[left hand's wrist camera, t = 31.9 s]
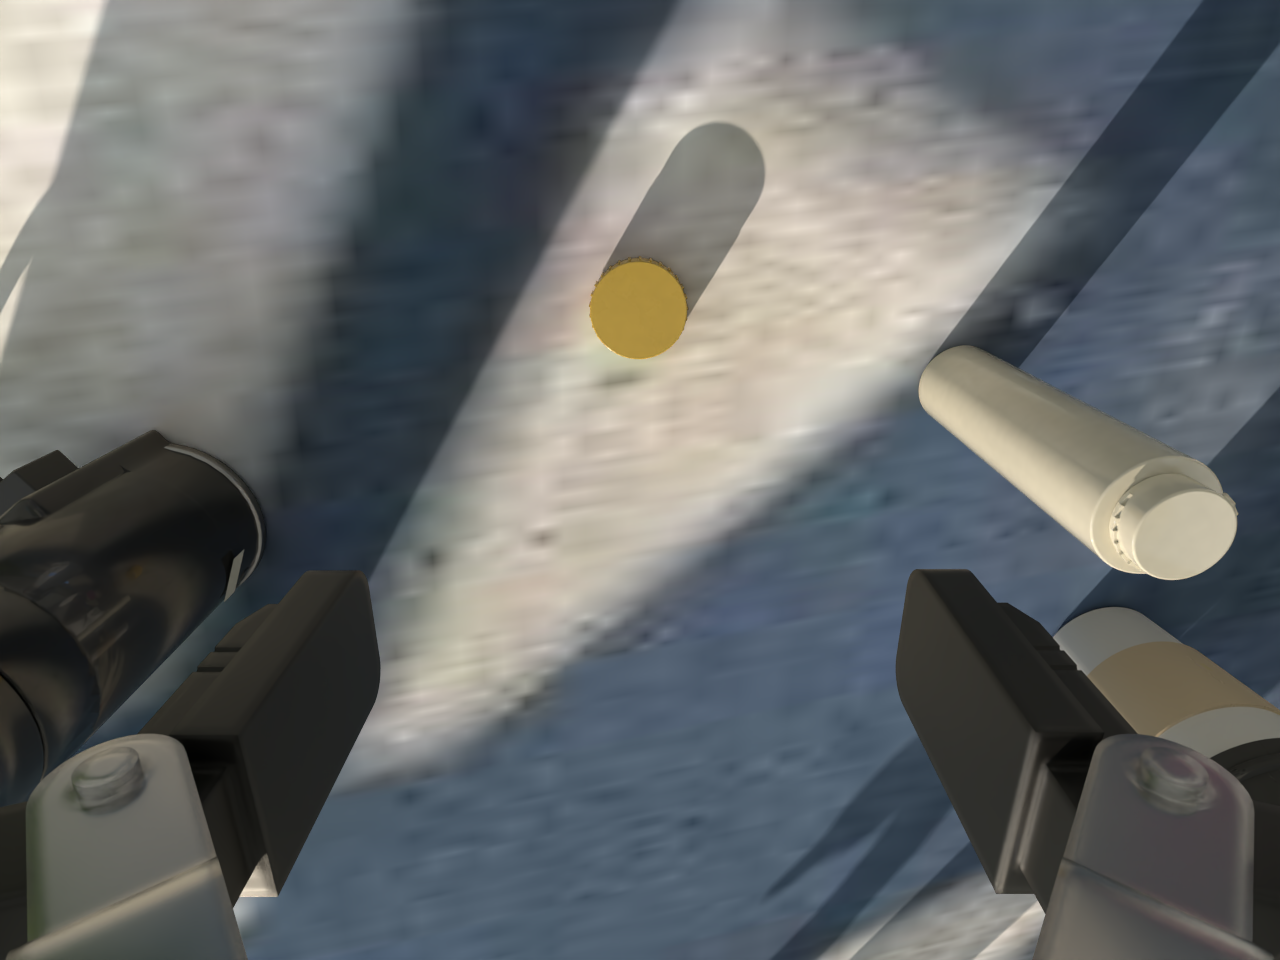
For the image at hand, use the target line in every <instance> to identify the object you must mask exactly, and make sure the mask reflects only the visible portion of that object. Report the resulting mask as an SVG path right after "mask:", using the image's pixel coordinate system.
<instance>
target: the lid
mask: <svg viewBox="0 0 1280 960" xmlns="http://www.w3.org/2000/svg"><path fill="white" fill-rule="evenodd" d="M595 286H596V287H595V290H594V291H592V293H591V296H592V299H591V301H590V304H589V307H590V317H591V321H592V327H593V328H594V330H595V332H596V334H597V337H598V338H599V339H600V340H601V342H602V343H603V344H604V345H605V346H606V347H607V348H609V349H610V350H611V351H613V352H614V353H616V354H618V355H621V356H623V357H627V358H631V359H646V358H651V357H654V356H657V355H659V354H661V353H663V352H665V351H666V350H667V349H669V348H670V347H671V346H672V345H673V344H674V343H675V342H676V341H677V340H678V339H679V336H680V335H681V333H682V331H683V330H684V326H685V322H686V321H687V310H688V306H687V303H686V299H687V296H686V294H684V292H683V289H684V287H683V285H682V284H680V282H679V281H678V276H677V275H674V274H673V273H672V272H671V269H670V268H669V267H668V268H667V267H665V266H664V265H662V262H659V263H658V262H656V261H654V260H652V258H649V259H645V258H641V256H639V258H632V259H631V257H628V259H627V260H624V261H621V260H619V261H618V263H617V264H615V265H613V266H611V265H610V266H609V269H608V270H607V271H606V272H605V273H602V274H601V278H600V279H599V281H596V283H595Z"/></svg>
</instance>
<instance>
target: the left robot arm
mask: <svg viewBox="0 0 1280 960" xmlns="http://www.w3.org/2000/svg"><path fill="white" fill-rule="evenodd" d="M265 541H266V531H265V523H264V518H263V515H262V512H261V509H260V507H259V505H258V503H257V501H256V499H255V497H254V495H253V494H252V492H251V491H250V489H249V488H248V487H247V485H246V484H245V483H244V482H243V481H242V480H241V478H240V477H239V476H238V475H237V474H235V473H234V472H233V471H232V470H231V469H230V468H228V467H227V466H226V465H225V464H223V463H222V462H220V461H219V460H217V459H215V458H214V457H212V456H210V455H208V454H206V453H204V452H201V451H199V450H196V449H193V448H190V447H186V446H182V445H177V444H171V443H170V442H168V441H167V440H166V439H165V438H163V437H162V436H161V435H160V434H159V433H158V432H157V431H155V430H151V431H149V432H147V433H145V434H143V435H141V436H139V437H138V438H136V439H134V440H132V441H130V442H128V443H126V444H124V445H122V446H120V447H119V448H117V449H115V450H113V451H111V452H109V453H107V454H105V455H103V456H102V457H100V458H98V459H96V460H94V461H92V462H90V463H88V464H86V465H84V466H83V467H81V468H77V467H76V466H75V465H74V464H73V463H72V462H71V461H70V460H69V459H68V458H67V457H66V456H64V455H63V454H62V453H61V452H60V451H59V450H56V451H54V452H52V453H49V454H47V455H45V456H43V457H41V458H39V459H37V460H35V461H33V462H31V463H28V464H26V465H24V466H22V467H20V468H18V469H16V470H14V471H12V472H11V473H10V474H9V475H8V476H7V477H6V478H5V479H2V478H1V477H0V960H248V959H247V955H246V952H245V949H244V945H243V942H242V938H241V935H240V932H239V928H238V925H237V921H236V918H235V915H234V911H233V907H234V905H235V904H236V902H237V900H238V898H239V897H278V895H279V893H280V891H281V889H282V887H283V885H284V883H285V881H286V879H287V877H288V875H289V873H290V871H291V869H292V867H293V865H294V863H295V861H296V859H297V857H298V855H299V853H300V851H301V849H302V847H303V845H304V843H305V841H306V839H307V837H308V835H309V833H310V831H311V829H312V827H313V825H314V823H315V821H316V819H317V817H318V815H319V813H320V811H321V809H322V807H323V805H324V803H325V801H326V799H327V797H328V795H329V793H330V791H331V789H332V787H333V785H334V783H335V781H336V779H337V777H338V775H339V773H340V771H341V769H342V767H343V765H344V763H345V761H346V759H347V757H348V755H349V753H350V751H351V749H352V747H353V745H354V743H355V741H356V739H357V737H358V735H359V733H360V731H361V729H362V727H363V725H364V723H365V721H366V719H367V717H368V715H369V713H370V711H371V709H372V707H373V705H374V703H375V700H376V697H377V693H378V689H379V683H380V657H379V650H378V644H377V637H376V631H375V624H374V618H373V611H372V605H371V598H370V591H369V586H368V582H367V579H366V576H365V575H364V573H363V572H362V571H359V570H311V571H307V572H305V573H304V574H303V575H302V576H301V577H300V579H299V580H298V581H297V582H296V583H295V585H294V586H293V587H292V588H291V589H290V591H289V592H288V593H287V594H286V595H285V597H284V598H283V599H282V600H281V601H280V603H279V604H267V605H266V606H264V607H263V608H261V609H259V610H258V611H256V612H255V613H253V614H251V615H250V616H248V617H246V618H245V619H243V620H242V621H240V622H238V623H237V624H235V625H234V627H233V628H232V629H231V630H230V631H229V632H228V633H227V634H226V636H225V637H224V638H223V639H222V640H221V641H220V642H219V643H218V644H217V646H216V647H215V652H210V653H209V655H208V656H207V657H206V658H205V659H204V660H203V661H202V662H201V663H200V665H199V666H198V669H197V672H192V674H191V675H190V676H189V677H188V678H187V679H186V680H185V681H184V682H183V684H182V685H181V686H180V687H179V688H178V689H177V690H176V691H175V693H174V694H173V695H172V696H171V697H170V698H169V699H168V700H167V701H166V703H165V704H164V705H163V706H162V707H161V708H160V709H159V710H158V712H157V713H156V714H155V715H154V716H153V717H152V718H151V719H150V720H149V722H148V723H147V724H146V725H145V726H144V727H143V728H142V729H141V731H140V732H139V733H138V734H137V735H130V736H126V737H121V738H117V739H113V740H110V741H107V742H104V743H101V744H99V745H96V746H94V747H91V748H89V749H87V750H85V751H83V752H81V753H79V754H77V755H75V756H74V757H72V758H70V757H71V756H72V755H73V754H74V753H75V752H76V751H77V750H78V749H79V748H80V747H81V746H82V745H83V744H84V743H85V742H86V741H87V740H88V739H89V738H90V737H91V736H92V735H93V734H94V733H95V732H96V731H97V730H98V729H99V728H100V727H101V726H102V725H103V724H104V723H105V722H106V721H107V720H108V719H109V717H110V716H111V715H112V714H113V713H114V712H115V711H116V710H117V709H118V708H119V707H120V706H121V705H122V704H123V703H124V702H125V701H126V700H127V699H128V698H129V697H130V696H131V695H132V694H133V693H134V692H135V691H136V690H137V689H138V688H139V687H140V686H141V685H142V684H143V683H144V682H145V680H146V679H147V678H148V677H149V676H150V675H151V674H152V673H153V672H154V671H155V670H156V669H157V668H158V667H159V666H160V665H161V664H162V663H163V662H164V661H165V660H166V659H167V658H168V657H169V656H170V655H171V654H172V653H173V652H174V651H175V650H176V649H177V648H178V647H179V646H180V645H181V644H182V642H183V641H184V640H185V639H186V638H187V637H188V636H189V635H190V634H191V633H192V632H193V631H194V630H195V629H196V628H197V627H198V626H199V625H200V624H201V623H202V622H203V621H204V620H205V619H206V618H207V617H208V616H209V615H210V614H211V613H212V612H213V611H214V610H215V608H216V607H217V606H218V605H219V604H220V603H221V602H222V601H223V600H224V599H225V600H224V602H225V601H226V600H227V599H228V598H229V597H230V596H231V595H232V594H233V593H234V592H235V589H236V588H237V587H238V586H240V585H241V584H242V583H243V582H244V581H245V580H246V579H247V578H248V577H249V576H250V575H251V574H252V573H253V572H254V570H255V569H256V567H257V566H258V564H259V562H260V560H261V558H262V555H263V552H264V548H265ZM896 680H897V687H898V692H899V696H900V699H901V701H902V704H903V706H904V708H905V710H906V712H907V714H908V716H909V718H910V720H911V722H912V724H913V726H914V728H915V730H916V732H917V734H918V736H919V738H920V740H921V742H922V744H923V746H924V748H925V750H926V752H927V754H928V756H929V758H930V760H931V762H932V764H933V766H934V769H935V771H936V773H937V775H938V777H939V779H940V781H941V783H942V785H943V787H944V789H945V791H946V793H947V795H948V797H949V799H950V801H951V803H952V805H953V807H954V809H955V811H956V813H957V815H958V817H959V819H960V821H961V823H962V825H963V827H964V829H965V831H966V833H967V835H968V837H969V839H970V841H971V843H972V845H973V847H974V849H975V851H976V854H977V856H978V858H979V860H980V862H981V864H982V866H983V868H984V870H985V872H986V874H987V876H988V878H989V880H990V882H991V884H992V886H993V888H994V890H995V892H996V894H1035V896H1036V898H1037V899H1038V901H1039V903H1040V905H1041V907H1042V909H1043V910H1044V912H1045V914H1046V915H1045V918H1044V921H1043V925H1042V928H1041V932H1040V935H1039V938H1038V942H1037V945H1036V949H1035V952H1034V955H1033V959H1032V960H1280V806H1277V805H1272V804H1268V803H1263V802H1259V801H1254V800H1251V797H1250V795H1249V793H1248V792H1247V791H1246V789H1245V788H1244V786H1243V785H1242V784H1241V783H1240V782H1239V781H1238V780H1237V779H1236V778H1235V777H1234V776H1233V775H1232V774H1231V773H1230V772H1228V771H1227V770H1226V769H1225V768H1223V767H1222V766H1221V765H1219V764H1218V763H1216V762H1215V761H1213V760H1212V759H1210V758H1208V757H1206V756H1205V755H1203V754H1201V753H1199V752H1197V751H1195V750H1193V749H1191V748H1189V747H1186V746H1184V745H1181V744H1179V743H1176V742H1173V741H1170V740H1167V739H1163V738H1159V737H1154V736H1150V735H1142V734H1138V733H1137V732H1136V731H1135V730H1134V729H1133V728H1132V727H1131V725H1130V724H1129V723H1128V722H1127V721H1126V720H1125V719H1124V718H1123V716H1122V715H1121V714H1120V713H1119V712H1118V711H1117V710H1116V709H1115V707H1114V706H1113V705H1112V704H1111V703H1110V702H1109V701H1108V699H1107V698H1106V697H1105V696H1104V695H1103V694H1102V693H1101V692H1100V690H1099V689H1098V688H1097V687H1096V686H1095V685H1094V684H1093V683H1092V681H1091V680H1090V679H1089V678H1088V677H1087V676H1086V675H1085V674H1084V672H1083V671H1082V670H1077V665H1076V663H1075V662H1074V661H1073V660H1072V659H1071V658H1070V657H1069V656H1068V654H1067V653H1066V652H1065V651H1064V650H1060V645H1059V644H1058V643H1057V642H1056V641H1055V640H1054V639H1053V637H1052V636H1051V635H1050V634H1049V633H1048V632H1047V631H1046V630H1045V628H1044V627H1043V626H1042V625H1041V624H1040V623H1039V622H1038V621H1036V620H1034V619H1033V618H1031V617H1029V616H1028V615H1026V614H1025V613H1023V612H1021V611H1020V610H1018V609H1017V608H1015V607H1013V606H1012V605H1010V604H1008V603H997V602H996V601H995V600H994V599H993V597H992V596H991V595H990V594H989V593H988V591H987V590H986V589H985V588H984V587H983V585H982V584H981V583H980V582H979V581H978V579H977V578H976V577H975V576H974V574H973V573H972V572H971V571H969V570H967V569H916V570H914V571H913V572H912V573H911V575H910V577H909V580H908V584H907V590H906V596H905V603H904V610H903V616H902V623H901V630H900V636H899V643H898V650H897V656H896Z"/></svg>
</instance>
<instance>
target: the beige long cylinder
mask: <svg viewBox="0 0 1280 960" xmlns="http://www.w3.org/2000/svg"><path fill="white" fill-rule="evenodd" d="M919 398H920V401H921V404H922V406H923V408H924V410H925V411H926V412H927V413H928V414H929V415H930V416H931V417H932V418H933V419H935V420H936V421H937V422H938V423H939V424H941V425H942V426H943V427H944V428H945V429H947V430H948V431H949V432H950V433H951V434H952V435H954V436H955V437H956V438H957V439H958V440H960V441H961V442H962V443H963V444H964V445H966V446H967V447H968V448H969V449H970V450H972V451H973V452H974V453H975V454H976V455H978V456H979V457H980V458H981V459H982V460H983V461H985V462H986V463H987V464H988V465H989V466H991V467H992V468H993V469H994V470H995V471H997V472H998V473H999V474H1000V475H1001V476H1003V477H1004V478H1005V479H1006V480H1007V481H1009V482H1010V483H1011V484H1012V485H1013V486H1014V487H1016V488H1017V489H1018V490H1019V491H1020V492H1022V493H1023V494H1024V495H1025V496H1026V497H1028V498H1029V499H1030V500H1031V501H1032V502H1034V503H1035V504H1036V505H1037V506H1038V507H1040V508H1041V509H1042V510H1043V511H1044V512H1045V513H1047V514H1048V515H1049V516H1050V517H1051V518H1053V519H1054V520H1055V521H1056V522H1057V523H1059V524H1060V525H1061V526H1062V527H1063V528H1065V529H1066V530H1067V531H1068V532H1069V533H1071V534H1072V535H1073V536H1074V537H1075V538H1076V539H1078V540H1079V541H1080V542H1081V543H1082V544H1084V545H1085V546H1086V547H1087V548H1088V549H1090V550H1091V551H1092V552H1093V553H1094V554H1096V555H1097V556H1098V557H1099V558H1100V559H1101V560H1103V561H1104V562H1105V563H1107V564H1108V565H1110V566H1111V567H1113V568H1115V569H1117V570H1121V571H1124V572H1129V573H1137V574H1146V573H1147V574H1149V575H1151V576H1153V577H1156V578H1160V579H1165V580H1179V579H1185V578H1189V577H1192V576H1195V575H1197V574H1200V573H1201V572H1203V571H1205V570H1207V569H1209V568H1210V567H1212V566H1213V565H1214V564H1215V563H1217V562H1218V561H1219V560H1220V559H1221V558H1222V557H1223V556H1224V555H1225V553H1226V552H1227V551H1228V549H1229V548H1230V546H1231V544H1232V542H1233V540H1234V538H1235V535H1236V531H1237V515H1238V512H1237V510H1236V507H1235V504H1236V503H1235V502H1234V501H1233V500H1232V499H1231V497H1230V496H1229V495H1228V494H1227V493H1223V491H1222V487H1221V484H1220V482H1219V480H1218V478H1217V477H1216V475H1215V474H1214V472H1213V471H1212V470H1211V469H1210V468H1209V467H1207V466H1206V465H1205V464H1203V463H1201V462H1199V461H1198V460H1196V459H1194V458H1192V457H1190V456H1188V455H1186V454H1184V453H1182V452H1180V451H1178V450H1176V449H1174V448H1172V447H1170V446H1169V445H1167V444H1165V443H1163V442H1161V441H1159V440H1157V439H1155V438H1153V437H1151V436H1149V435H1147V434H1145V433H1143V432H1141V431H1140V430H1138V429H1136V428H1134V427H1132V426H1130V425H1128V424H1126V423H1124V422H1122V421H1120V420H1118V419H1116V418H1114V417H1112V416H1110V415H1109V414H1107V413H1105V412H1103V411H1101V410H1099V409H1097V408H1095V407H1093V406H1091V405H1089V404H1087V403H1085V402H1083V401H1081V400H1080V399H1078V398H1076V397H1074V396H1072V395H1070V394H1068V393H1066V392H1064V391H1062V390H1060V389H1058V388H1056V387H1054V386H1052V385H1050V384H1049V383H1047V382H1045V381H1043V380H1041V379H1039V378H1037V377H1035V376H1033V375H1031V374H1029V373H1027V372H1025V371H1023V370H1021V369H1020V368H1018V367H1016V366H1014V365H1012V364H1010V363H1008V362H1006V361H1004V360H1002V359H1000V358H998V357H996V356H994V355H992V354H990V353H989V352H987V351H985V350H983V349H981V348H978V347H975V346H967V345H964V346H957V347H953V348H950V349H947V350H945V351H943V352H942V353H940V354H939V355H937V356H936V357H935V358H934V359H933V360H932V361H931V362H930V363H929V364H928V365H927V367H926V368H925V370H924V372H923V374H922V376H921V379H920V384H919Z"/></svg>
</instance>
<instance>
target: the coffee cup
mask: <svg viewBox="0 0 1280 960" xmlns="http://www.w3.org/2000/svg"><path fill="white" fill-rule="evenodd" d="M1053 639H1054V640H1055V641H1056V642H1057V643H1058V644H1059V645H1060V650H1064V651H1065V652H1066V653H1067V654H1068V656H1069V657H1070V658H1071V659H1072V660H1073V661H1074V662H1075V663H1076V665H1077V670H1082V671H1083V672H1084V674H1085V675H1086V676H1087V677H1088V678H1089V679H1090V680H1091V681H1092V683H1093V684H1094V685H1095V686H1096V687H1097V688H1098V689H1099V690H1100V692H1101V693H1102V694H1103V695H1104V696H1105V697H1106V698H1107V699H1108V701H1109V702H1110V703H1111V704H1112V705H1113V706H1114V707H1115V709H1116V710H1117V711H1118V712H1119V713H1120V714H1121V715H1122V716H1123V718H1124V719H1125V720H1126V721H1127V722H1128V723H1129V724H1130V725H1131V727H1132V728H1133V729H1134V730H1135V731H1136V732H1137V733H1138V734H1142V735H1150V736H1154V737H1159V738H1163V739H1167V740H1170V741H1173V742H1176V743H1179V744H1181V745H1184V746H1186V747H1189V748H1191V749H1193V750H1195V751H1197V752H1199V753H1201V754H1203V755H1205V756H1206V757H1208V758H1210V759H1212V760H1213V761H1215V762H1216V763H1218V764H1219V765H1221V766H1222V767H1223V768H1225V769H1226V770H1227V771H1228V772H1230V773H1231V774H1232V775H1233V776H1234V777H1235V778H1236V779H1237V780H1238V781H1239V782H1240V783H1241V784H1242V785H1243V786H1244V788H1245V789H1246V791H1247V792H1248V793H1249V795H1250V797H1251V800H1254V801H1259V802H1263V803H1268V804H1272V805H1277V806H1280V710H1279V709H1277V708H1276V707H1274V706H1273V705H1272V704H1270V703H1269V702H1268V701H1266V700H1265V699H1263V698H1262V697H1261V696H1259V695H1258V694H1257V693H1255V692H1254V691H1252V690H1251V689H1250V688H1248V687H1247V686H1246V685H1244V684H1243V683H1241V682H1240V681H1239V680H1237V679H1236V678H1234V677H1233V676H1232V675H1230V674H1229V673H1228V672H1226V671H1225V670H1223V669H1222V668H1221V667H1219V666H1218V665H1217V664H1215V663H1214V662H1212V661H1211V660H1210V659H1208V658H1207V657H1206V656H1204V655H1203V654H1201V653H1200V652H1199V651H1197V650H1195V649H1194V648H1192V647H1189V646H1187V645H1184V644H1183V643H1181V642H1180V641H1178V640H1177V639H1176V638H1174V637H1173V636H1172V635H1170V634H1169V633H1168V632H1166V631H1165V630H1163V629H1162V628H1161V627H1159V626H1158V625H1157V624H1155V623H1154V622H1153V621H1151V620H1150V619H1148V618H1147V617H1146V616H1144V615H1143V614H1141V613H1139V612H1137V611H1135V610H1132V609H1128V608H1122V607H1107V608H1101V609H1096V610H1093V611H1090V612H1087V613H1085V614H1082V615H1080V616H1078V617H1076V618H1075V619H1073V620H1071V621H1070V622H1069V623H1067V624H1066V625H1065V626H1063V627H1062V628H1061V629H1060V630H1059V631H1058V632H1057V633H1056V634H1055V636H1054V637H1053Z"/></svg>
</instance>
